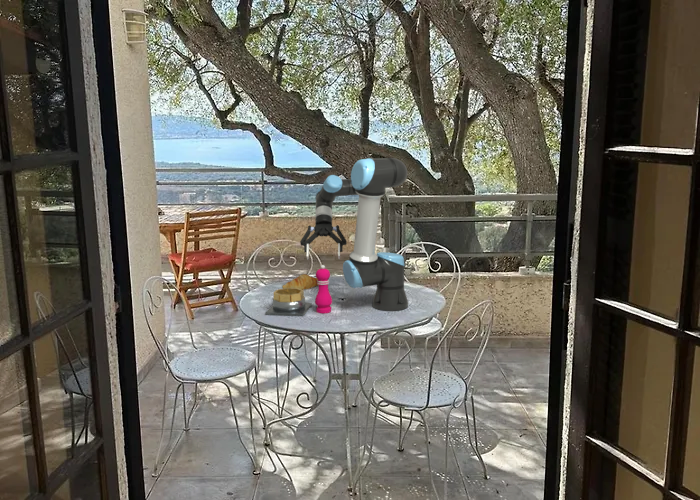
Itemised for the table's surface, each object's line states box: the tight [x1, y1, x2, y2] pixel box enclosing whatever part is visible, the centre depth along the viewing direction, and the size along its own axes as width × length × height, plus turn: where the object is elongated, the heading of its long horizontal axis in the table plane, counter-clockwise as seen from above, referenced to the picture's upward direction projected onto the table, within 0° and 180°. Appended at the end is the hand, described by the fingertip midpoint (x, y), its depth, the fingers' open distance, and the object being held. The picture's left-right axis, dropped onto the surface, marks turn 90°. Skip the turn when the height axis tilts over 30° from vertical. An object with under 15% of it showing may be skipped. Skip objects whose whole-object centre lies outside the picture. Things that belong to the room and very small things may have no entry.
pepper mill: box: [314, 264, 333, 314], centre depth 258 cm, size 7×7×20 cm
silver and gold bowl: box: [265, 287, 313, 317], centre depth 262 cm, size 16×16×8 cm
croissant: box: [282, 273, 318, 291], centre depth 300 cm, size 21×10×8 cm, turn 122°
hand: (323, 257), depth 267 cm, fingers open, 13 cm apart
